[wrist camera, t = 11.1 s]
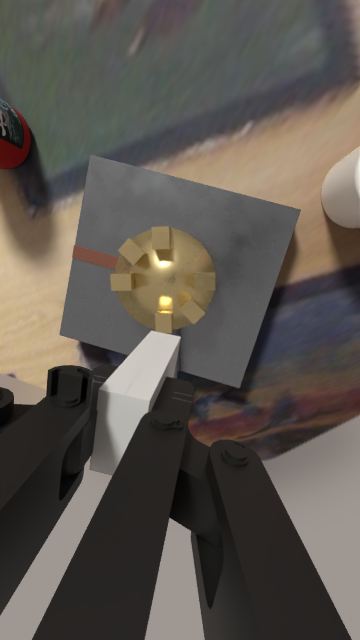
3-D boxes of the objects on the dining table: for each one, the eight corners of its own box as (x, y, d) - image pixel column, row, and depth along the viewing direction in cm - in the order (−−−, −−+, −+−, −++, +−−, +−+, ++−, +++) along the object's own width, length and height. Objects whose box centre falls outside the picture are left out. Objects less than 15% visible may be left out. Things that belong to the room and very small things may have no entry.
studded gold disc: (120, 231, 32) (106, 228, 28) (215, 228, 31) (215, 225, 27) (129, 380, 36) (118, 397, 32) (214, 383, 35) (214, 400, 30)
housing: (291, 214, 34) (301, 209, 30) (235, 380, 39) (237, 395, 35) (104, 165, 35) (89, 154, 31) (73, 332, 40) (57, 341, 36)
